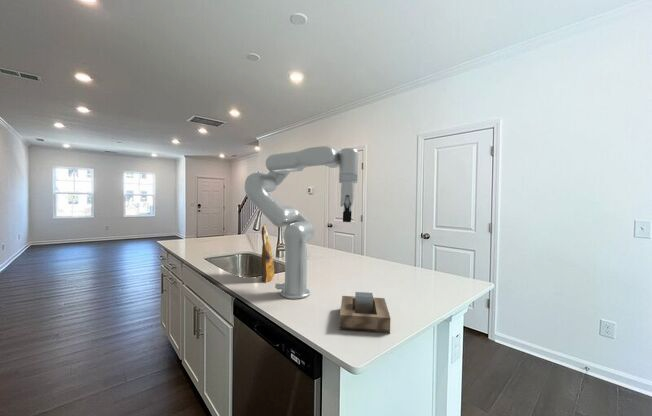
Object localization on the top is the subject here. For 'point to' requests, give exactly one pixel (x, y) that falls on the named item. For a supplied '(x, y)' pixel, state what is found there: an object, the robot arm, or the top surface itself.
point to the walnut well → (364, 317)
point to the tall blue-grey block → (363, 303)
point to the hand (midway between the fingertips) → (347, 221)
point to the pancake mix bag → (266, 257)
